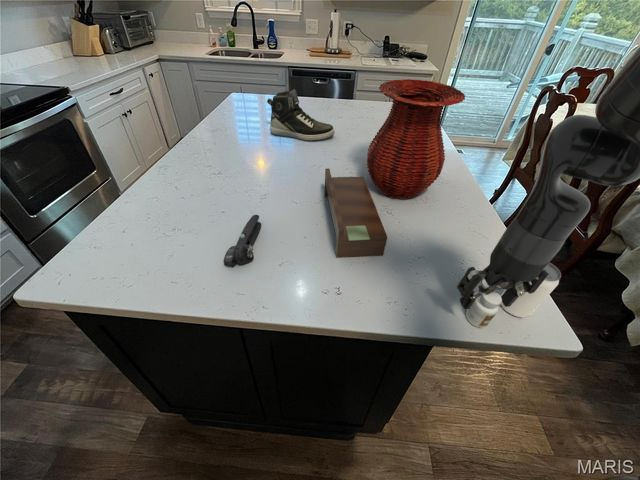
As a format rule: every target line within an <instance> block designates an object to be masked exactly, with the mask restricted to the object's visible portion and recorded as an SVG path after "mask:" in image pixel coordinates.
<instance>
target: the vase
mask: <svg viewBox="0 0 640 480" xmlns="http://www.w3.org/2000/svg"><path fill="white" fill-rule="evenodd" d="M378 90H379V92H380V93H381V94H383V95H384V96H385V97H387V98H389V99H392V104H391V109H390V111H389V113H388V116H387V117H386V119H385V121H384V122H383V124H382V125H381V127H380V128H379V129H378V131H377V132H376V134H375V135H374V138H372V141H371V142H370V143H369V145H368V149H367V150H368V151H367V153H366V154H367V155H366V157H367V158H366V168H367V169H368V173H369V177H370V179H371V180H372V182H373V184H374V185H375V187H376V189H377V190H379V192H380V193H381V194H383V195H386V196H387V197H388V196H389V197H391V198H394V199H412V198H413V197H417V196H418V195H420V194H421V193H422V192H424V191H425V190H427V189H428V188H429V187H431V185H432V184H434V183H435V181H437V180H438V178H439V177H440V175H441V173H442V170H443V168H444V165H445V160H446V153H445V151H446V150H445V146H444V143H445V142H444V138H443V133H442V132H443V131H442V115H443V110H444V107H446V106H447V107H448V106H453V105H458V104H460V103H463V102H464V100H466V95H465V93H463V92H462V91H461V90H459V89H457V88H456V87H454V86H451V85H448V84H444V83H441V82H436V81H431V80H423V79H410V78H408V79H403V78H402V79H393V80H388V81H385V82H383V83H381V84H380V85H379V86H378Z"/></svg>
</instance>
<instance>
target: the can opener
mask: <svg viewBox="0 0 640 480" xmlns="http://www.w3.org/2000/svg"><path fill="white" fill-rule="evenodd" d="M259 219H260V215H259V214H253V215H252V216H251V217H250V219H248V221H247V222H246V224H245V226H243V229H242V231H241V233H240V235H239V237H238V239H237V242H236V245H232V246H230V247H229V248H228V249H227V251H226V252H225V254H224V256H223V265H225V266H230V267H234V266H236V265H237V264H242V265H243V264H247V263H250V262H252V261H253V260H254V253H253V251H254V243H255V241H256V239H257V238H258V235H259V233H260V230H261V228H262V223H261V222H260V221H259Z"/></svg>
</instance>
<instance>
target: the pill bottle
mask: <svg viewBox="0 0 640 480" xmlns="http://www.w3.org/2000/svg"><path fill="white" fill-rule="evenodd" d="M501 302H502V298H501V294H500V293H498V292H497V291H496V290H495V291H493V292H492V293H490V294H488V295H484V294H483V295H481V296H479V297H478V298H476V300H475V302H474V303H473V304H472V306H471V307H470V309H468V310H466V313H465V316H466V319H467V321H468V323H470V325H472V326H474V327H476V328H481V329H482V328H485V327H487V326H488V325H489V324H490V322H491V321H492V320H493V319H494V317H495V316H496V315H497V314H498V312H499V310H500V307H499V306H501V304H500V303H501Z"/></svg>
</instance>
